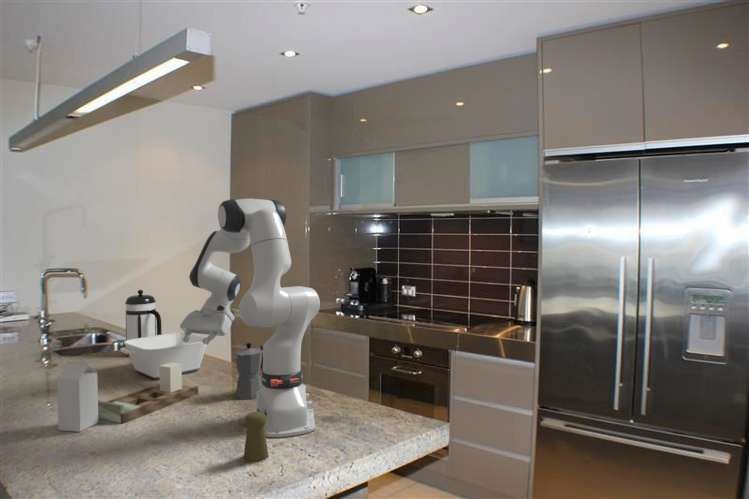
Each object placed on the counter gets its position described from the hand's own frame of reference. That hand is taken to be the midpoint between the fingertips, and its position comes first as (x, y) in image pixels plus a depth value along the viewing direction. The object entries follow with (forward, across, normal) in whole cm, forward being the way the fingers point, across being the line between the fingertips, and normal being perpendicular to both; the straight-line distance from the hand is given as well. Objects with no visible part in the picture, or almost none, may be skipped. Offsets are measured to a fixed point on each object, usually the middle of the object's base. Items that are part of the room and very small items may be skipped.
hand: (194, 342), depth 184 cm
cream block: (+18, 0, +2) cm, 18 cm away
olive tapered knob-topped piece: (+39, +57, -16) cm, 71 cm away
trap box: (+26, 0, -4) cm, 27 cm away
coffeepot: (+11, +25, +12) cm, 30 cm away
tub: (+4, -25, +19) cm, 32 cm away
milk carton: (+42, -2, -19) cm, 46 cm away
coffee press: (-8, -58, +31) cm, 66 cm away
